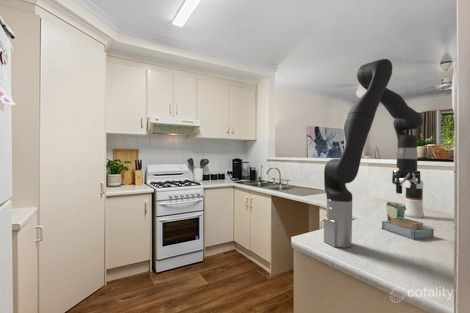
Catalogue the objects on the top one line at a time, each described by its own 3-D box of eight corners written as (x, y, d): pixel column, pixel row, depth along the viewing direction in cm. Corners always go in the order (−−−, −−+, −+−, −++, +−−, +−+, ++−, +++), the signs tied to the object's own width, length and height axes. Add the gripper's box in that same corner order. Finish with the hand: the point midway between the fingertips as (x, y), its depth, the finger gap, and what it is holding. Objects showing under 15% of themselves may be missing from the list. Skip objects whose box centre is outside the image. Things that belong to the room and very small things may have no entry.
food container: (411, 227, 111) (411, 207, 111) (397, 226, 112) (397, 206, 112) (398, 220, 123) (398, 202, 123) (386, 219, 124) (386, 201, 125)
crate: (413, 239, 93) (413, 230, 93) (381, 229, 107) (382, 221, 107) (433, 237, 97) (433, 228, 97) (400, 227, 111) (400, 219, 111)
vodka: (411, 218, 129) (412, 166, 129) (400, 214, 138) (401, 165, 138) (428, 218, 128) (428, 166, 129) (415, 214, 138) (416, 166, 138)
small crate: (412, 235, 96) (412, 223, 96) (390, 228, 106) (390, 217, 106) (423, 234, 98) (423, 222, 98) (400, 227, 108) (400, 216, 108)
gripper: (403, 157, 97) (402, 195, 97) (427, 158, 101) (426, 194, 101) (387, 157, 104) (386, 192, 104) (409, 158, 108) (409, 191, 108)
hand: (406, 193), depth 102 cm, fingers open, 8 cm apart
